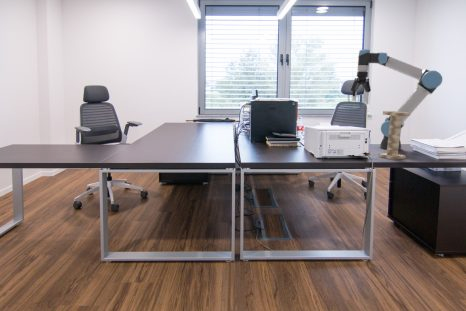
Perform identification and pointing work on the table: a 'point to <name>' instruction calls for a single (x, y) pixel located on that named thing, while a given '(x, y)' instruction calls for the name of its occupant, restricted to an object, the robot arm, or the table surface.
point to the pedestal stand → (394, 135)
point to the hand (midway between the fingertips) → (359, 100)
